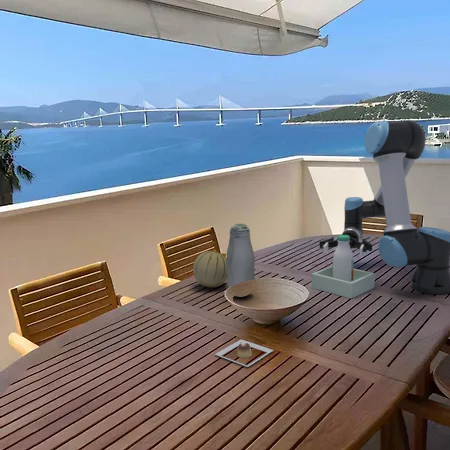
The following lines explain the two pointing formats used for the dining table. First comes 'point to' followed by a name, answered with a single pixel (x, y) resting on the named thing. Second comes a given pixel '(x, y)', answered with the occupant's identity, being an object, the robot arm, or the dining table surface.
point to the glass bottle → (239, 255)
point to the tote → (343, 282)
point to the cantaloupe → (210, 269)
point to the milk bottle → (343, 260)
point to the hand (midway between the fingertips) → (342, 251)
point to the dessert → (244, 350)
